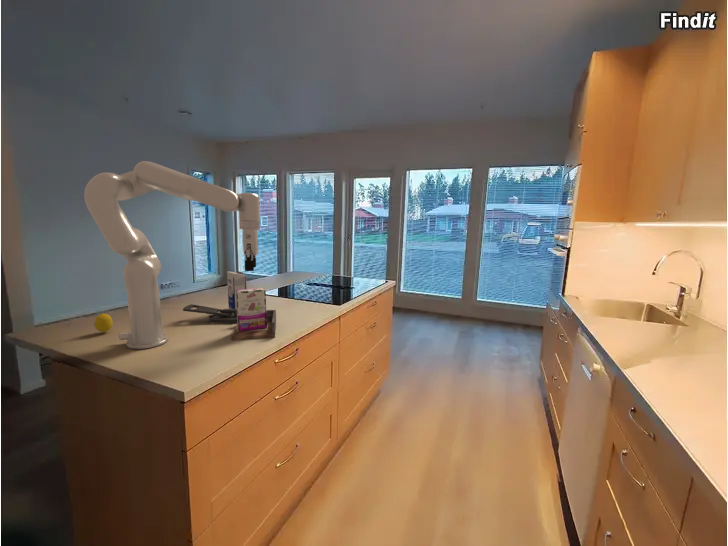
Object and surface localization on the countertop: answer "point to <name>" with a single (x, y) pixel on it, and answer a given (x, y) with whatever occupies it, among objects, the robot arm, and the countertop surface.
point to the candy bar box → (251, 309)
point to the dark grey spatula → (215, 314)
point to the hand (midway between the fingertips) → (250, 268)
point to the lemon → (103, 323)
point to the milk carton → (235, 286)
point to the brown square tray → (258, 333)
